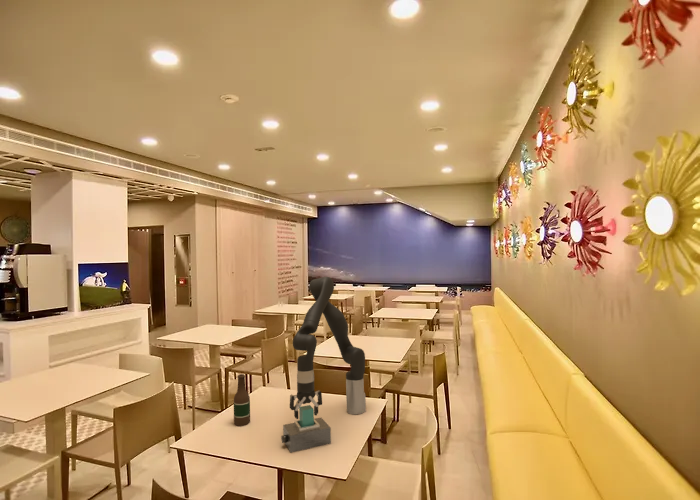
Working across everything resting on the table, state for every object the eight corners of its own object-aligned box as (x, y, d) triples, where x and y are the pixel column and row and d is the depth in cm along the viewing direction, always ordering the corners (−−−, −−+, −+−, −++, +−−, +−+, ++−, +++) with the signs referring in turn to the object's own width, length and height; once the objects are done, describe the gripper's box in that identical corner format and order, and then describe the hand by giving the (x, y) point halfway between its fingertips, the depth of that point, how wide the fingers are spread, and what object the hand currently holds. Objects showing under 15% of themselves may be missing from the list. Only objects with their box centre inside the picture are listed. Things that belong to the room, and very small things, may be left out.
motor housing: (321, 432, 182) (321, 414, 182) (330, 443, 171) (330, 424, 171) (279, 441, 174) (278, 422, 174) (285, 453, 163) (285, 433, 163)
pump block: (310, 422, 176) (310, 404, 176) (313, 427, 172) (313, 408, 172) (299, 425, 174) (299, 406, 174) (302, 429, 170) (302, 410, 170)
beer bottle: (241, 428, 188) (240, 378, 189) (230, 425, 193) (229, 375, 193) (253, 422, 195) (252, 373, 196) (242, 419, 199) (241, 371, 200)
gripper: (318, 375, 180) (318, 411, 179) (287, 379, 174) (288, 416, 174) (323, 379, 173) (324, 416, 172) (292, 384, 167) (292, 423, 167)
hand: (306, 416), depth 173 cm, fingers open, 8 cm apart
